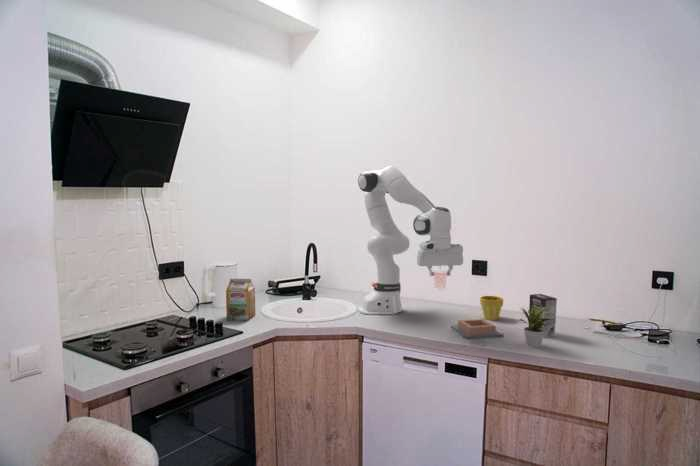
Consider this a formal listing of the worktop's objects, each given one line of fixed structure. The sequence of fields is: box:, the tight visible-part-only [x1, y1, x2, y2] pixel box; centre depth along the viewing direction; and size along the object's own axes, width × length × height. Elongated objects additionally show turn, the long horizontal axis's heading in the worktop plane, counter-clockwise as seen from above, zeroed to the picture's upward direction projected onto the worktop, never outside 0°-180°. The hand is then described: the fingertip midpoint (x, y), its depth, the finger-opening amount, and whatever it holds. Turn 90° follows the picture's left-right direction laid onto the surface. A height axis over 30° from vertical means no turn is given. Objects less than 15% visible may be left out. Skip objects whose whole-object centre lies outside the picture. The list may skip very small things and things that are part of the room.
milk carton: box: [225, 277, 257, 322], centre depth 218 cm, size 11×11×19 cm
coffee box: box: [528, 293, 558, 338], centre depth 192 cm, size 9×6×16 cm
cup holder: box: [450, 318, 504, 340], centre depth 195 cm, size 16×16×4 cm
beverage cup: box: [432, 266, 448, 292], centre depth 200 cm, size 6×6×14 cm
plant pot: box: [479, 295, 504, 321], centre depth 217 cm, size 10×10×10 cm
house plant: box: [517, 304, 552, 348], centre depth 177 cm, size 14×14×16 cm
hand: (440, 275), depth 201 cm, fingers closed on beverage cup, 6 cm apart
